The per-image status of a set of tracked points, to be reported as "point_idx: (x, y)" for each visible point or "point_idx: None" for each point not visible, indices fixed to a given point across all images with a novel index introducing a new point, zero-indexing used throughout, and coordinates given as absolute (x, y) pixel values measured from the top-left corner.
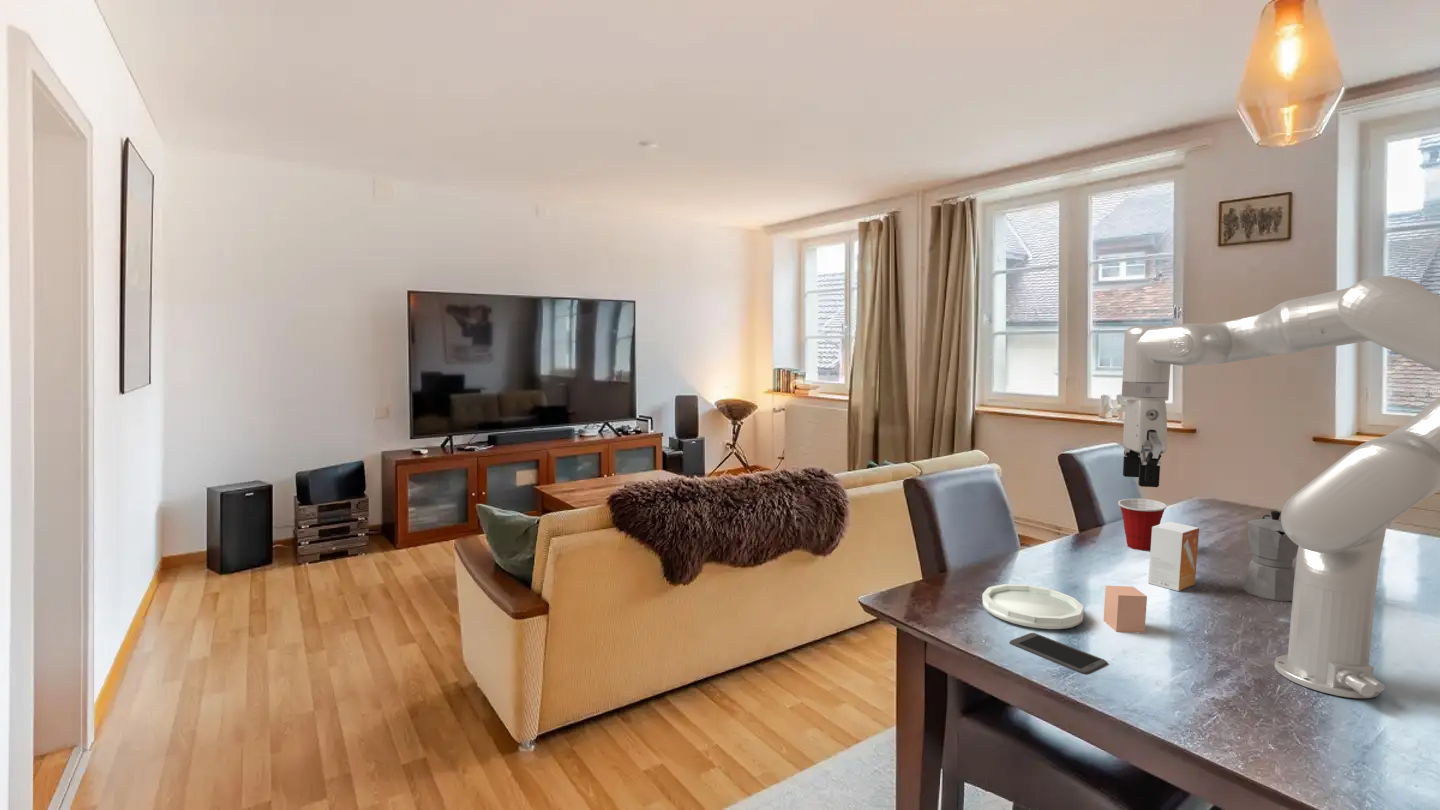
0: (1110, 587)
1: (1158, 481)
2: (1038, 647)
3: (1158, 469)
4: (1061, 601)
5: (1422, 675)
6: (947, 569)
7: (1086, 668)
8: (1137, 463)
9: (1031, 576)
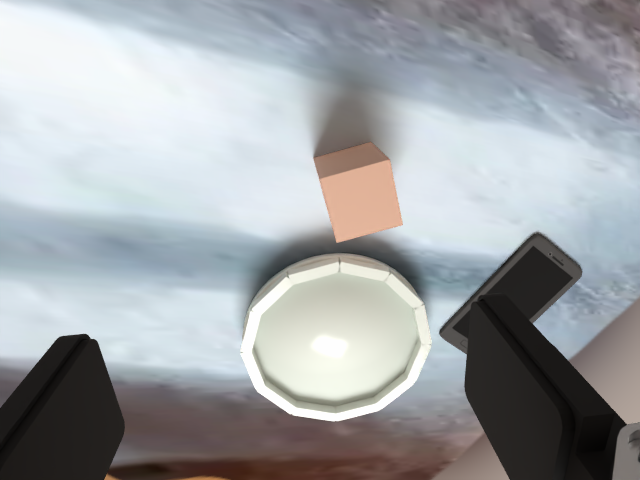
0: (347, 234)
1: (520, 315)
2: None
3: (585, 392)
4: (292, 291)
5: None
6: (140, 462)
7: (570, 269)
8: (44, 455)
9: (90, 326)
